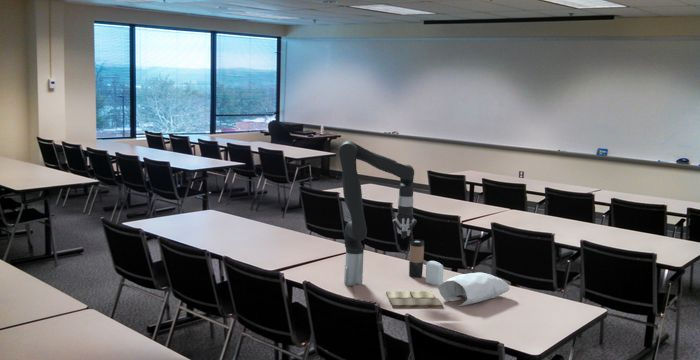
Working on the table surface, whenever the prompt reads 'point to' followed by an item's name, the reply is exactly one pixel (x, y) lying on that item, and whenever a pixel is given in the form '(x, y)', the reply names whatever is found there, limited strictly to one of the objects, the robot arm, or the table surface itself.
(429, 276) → the photo printer
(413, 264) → the travel mug
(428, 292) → the oak plank right
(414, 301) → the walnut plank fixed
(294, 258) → the table surface
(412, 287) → the table surface
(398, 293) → the oak plank left
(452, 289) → the bag
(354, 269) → the robot arm
